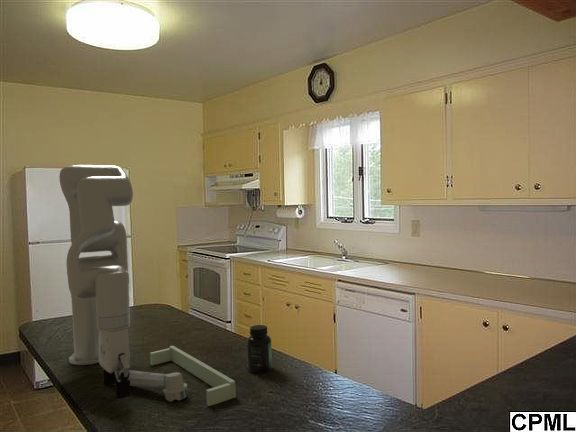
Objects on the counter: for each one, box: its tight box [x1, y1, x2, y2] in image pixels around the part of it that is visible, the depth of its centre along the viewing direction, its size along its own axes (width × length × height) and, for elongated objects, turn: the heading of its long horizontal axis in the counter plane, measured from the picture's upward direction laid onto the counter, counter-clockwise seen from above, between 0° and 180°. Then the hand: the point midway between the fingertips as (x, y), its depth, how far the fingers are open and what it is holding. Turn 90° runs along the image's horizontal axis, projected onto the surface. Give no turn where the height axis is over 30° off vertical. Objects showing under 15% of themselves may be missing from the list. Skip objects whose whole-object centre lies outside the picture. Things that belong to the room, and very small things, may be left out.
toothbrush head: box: [111, 369, 188, 402], centre depth 117 cm, size 5×7×25 cm
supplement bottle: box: [246, 324, 273, 374], centre depth 129 cm, size 7×7×12 cm
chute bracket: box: [149, 345, 237, 407], centre depth 123 cm, size 36×7×4 cm, turn 38°
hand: (116, 390), depth 112 cm, fingers open, 9 cm apart
